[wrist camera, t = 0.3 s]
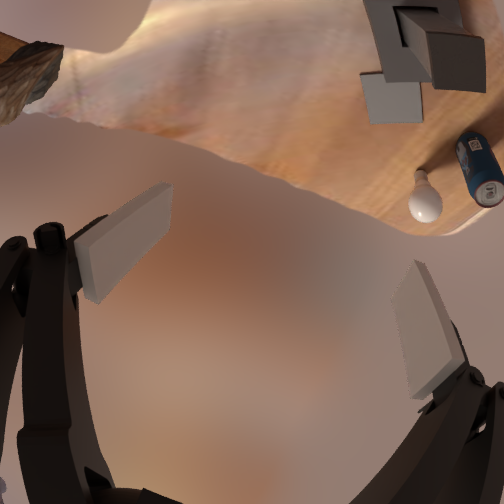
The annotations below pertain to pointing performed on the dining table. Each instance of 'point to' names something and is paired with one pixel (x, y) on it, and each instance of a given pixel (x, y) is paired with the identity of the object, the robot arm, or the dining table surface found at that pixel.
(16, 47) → the wooden box
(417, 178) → the lightbulb
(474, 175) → the soda can
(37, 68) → the rock
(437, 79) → the plug
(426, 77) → the dark gray block
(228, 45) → the dining table surface
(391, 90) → the mat
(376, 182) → the dining table surface
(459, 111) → the dining table surface
